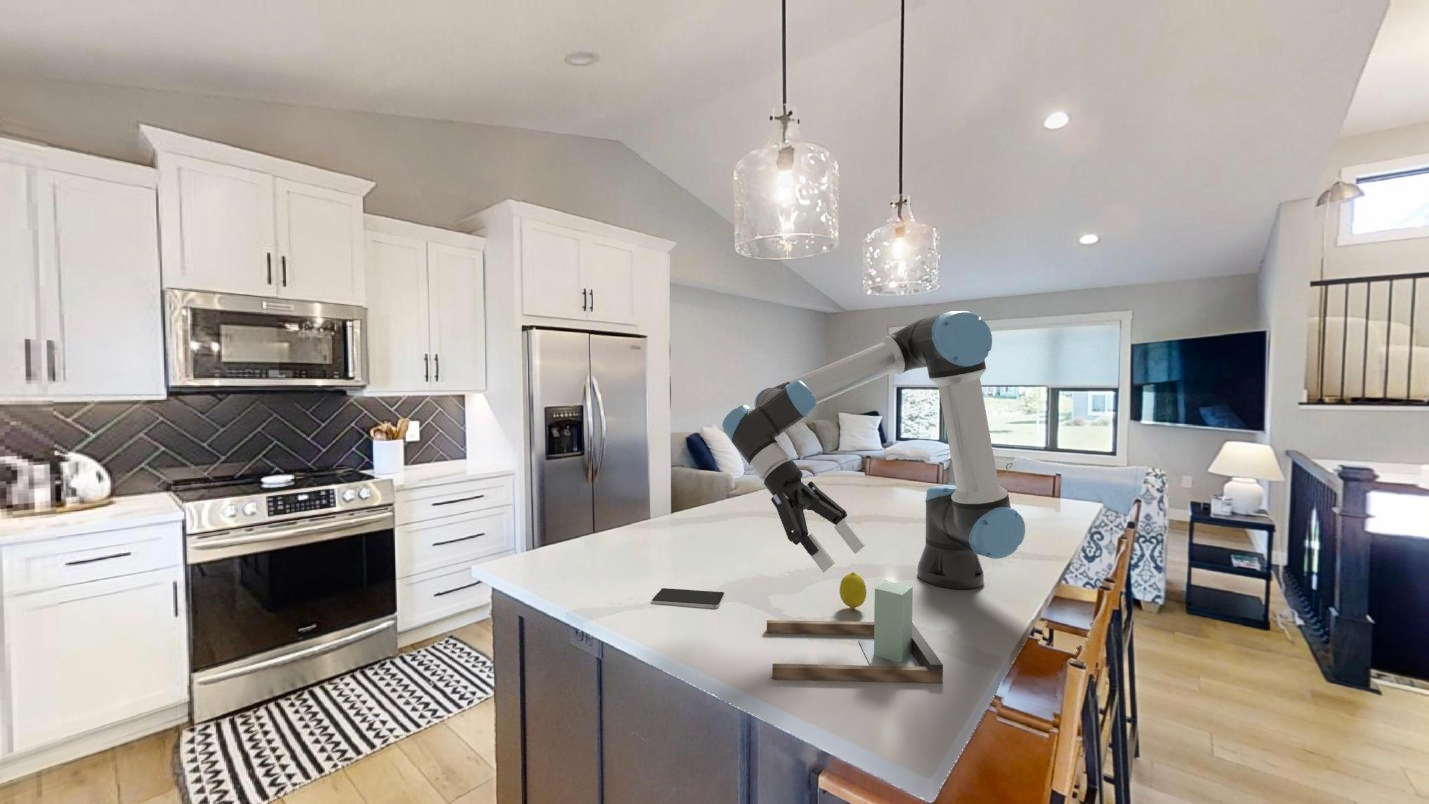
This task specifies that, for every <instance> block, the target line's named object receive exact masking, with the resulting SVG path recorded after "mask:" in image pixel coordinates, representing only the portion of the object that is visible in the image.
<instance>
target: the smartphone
mask: <svg viewBox="0 0 1429 804" xmlns="http://www.w3.org/2000/svg"><path fill="white" fill-rule="evenodd" d="M724 598H725V592H724V591H713V590H700V589H680V588H665V587H663V588H660V589H659V591H658V592H657V593H656V594H655V596H654V597H653V598H652V600H651V603H652V604H654V605H656V604H657V605H658V604H659V605H667V606H669V605H671V606H680V607H682V606H683V607H692V608H693V607H695V608H699V609H701V608H702V609H719V608H720V606H721V604H722V602H723V600H724Z"/></svg>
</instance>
